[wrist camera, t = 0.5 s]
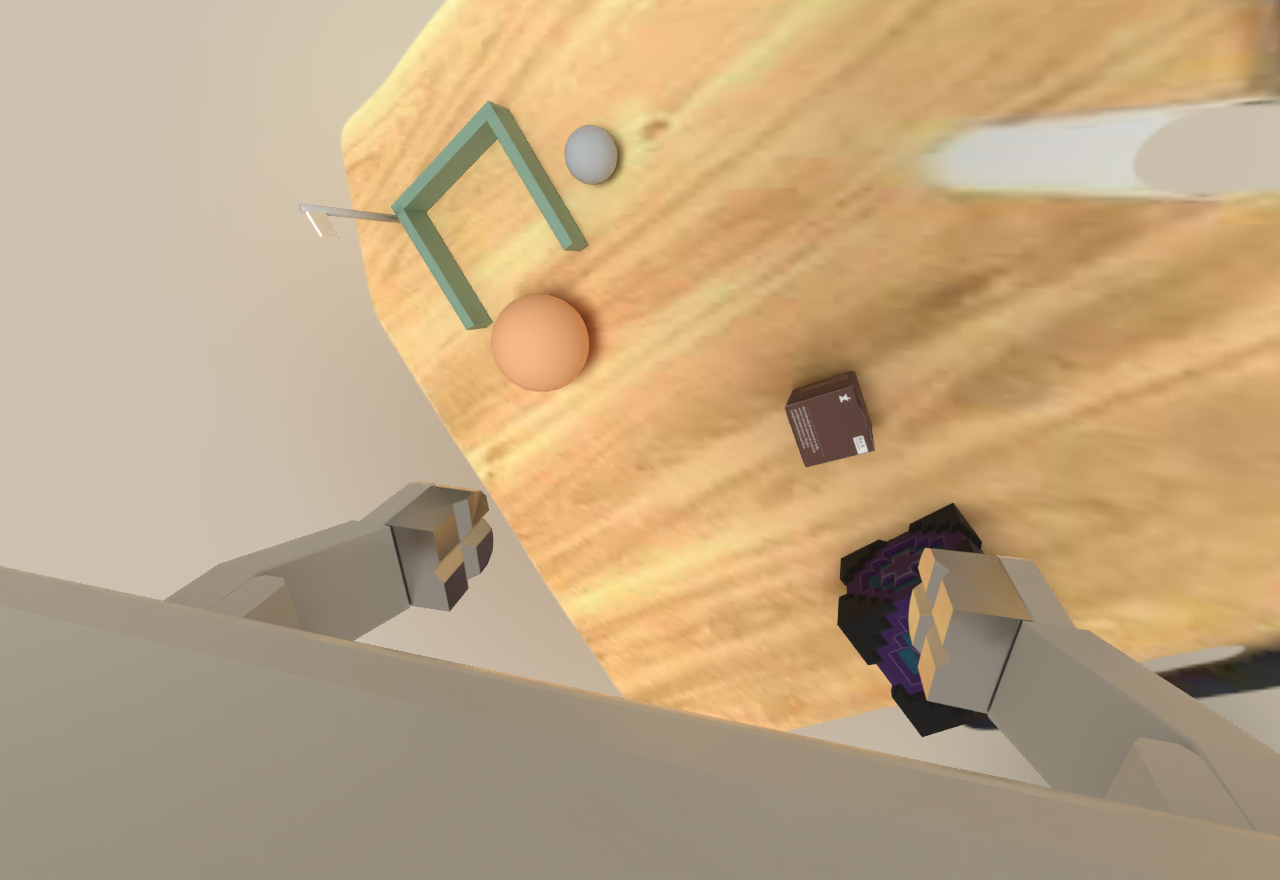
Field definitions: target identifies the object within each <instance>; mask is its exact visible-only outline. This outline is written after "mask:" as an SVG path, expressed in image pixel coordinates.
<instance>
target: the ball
mask: <svg viewBox="0 0 1280 880" xmlns="http://www.w3.org/2000/svg"><path fill="white" fill-rule="evenodd" d="M491 346H492V353H493V356H494V359H495V361H496V364H497V365H498V367H499V369H500V370H501V372H502V373H503V374H504V375H505V376H506V377H507V378H508V379H509V380H510V381H511V382H513V383H514V384H516V385H518V386H520V387H522V388H524V389H527V390H531V391H537V392H547V391H553V390H557V389H559V388H562V387H564V386H565V385H567V384H569V383H570V382H571V381H573V380H574V379H575V378H576V377H577V376H578V375H579V373H580V372H581V370H582V369H583V367H584V365H585V363H586V360H587V357H588V353H589V337H588V332H587V328H586V326H585V323H584V322H583V320H582V318H581V316H580V315H579V313H578V312H577V311H576V310H575V309H574V308H573V307H572V306H571V305H569V304H568V303H567V302H565V301H564V300H562V299H560V298H557V297H554V296H551V295H546V294H531V295H526V296H523V297H520V298H518V299H516V300H514V301H513V302H511V303H510V304H509V305H508V306H506V307H505V308H504V309H503V310H502V312H501V313H500V314H499V316H498V318H497V320H496V321H495V324H494V327H493V330H492V337H491Z"/></svg>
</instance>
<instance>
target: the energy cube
mask: <svg viewBox="0 0 1280 880" xmlns="http://www.w3.org/2000/svg"><path fill="white" fill-rule="evenodd" d="M981 544H982V542H981V540H980V538H979V537H978V535H977V534H976V533H975V531H974V530H973V529H972V527H971V526H970V525H969V523H968V522H967V521H966V519H965V518H964V517H963V515H962V514H961V513H960V511H959V510H958V509H957V507H956V506H955V505H954V503H952V504H950V505H948V506H946V507H944V508H942V509H940V510H938V511H936V512H934V513H932V514H930V515H927V516H925V517H923V518H921V519H919V520H917V521H915V522H913V523H911V524H910V527H909V532H908V533H906V534H904V535H902V536H900V537H898V538H896V539H894V540H892V541H889V542H887V543H885V542H883V541H881V540H877V541H875V542H873V543H871V544H869V545H867V546H865V547H863V548H861V549H859V550H857V551H855V552H853V553H851V554H849V555H847V556H845V557H843V558H841V568H840V580H841V581H842V582H843V584H844V585H845V586H847V594H845V595H843V596H841V597H839V605H838V623H837V625H838V626H839V627H840V629H841V630H842V631H843V633H844V634H845V635H846V637H847V638H848V639H849V641H850V642H851V643H852V645H853V646H854V647H855V649H856V650H857V651H858V653H859V654H860V655H861V657H862V658H863V659H864V661H865V662H866V663H867V665H873V664H877V666H878V667H879V668H880V670H881V671H882V672H883V674H884V675H885V676H886V678H887V679H888V680H889V682H890V683H891V684H892V689H891V694H892V698H893V699H894V700H895V702H896V703H897V704H898V706H899V707H900V708H901V709H902V711H903V712H904V714H905V715H906V716H907V718H908V719H909V720H910V722H911V723H912V724H913V725H914V727H915V728H916V729H917V731H918V732H919V734H920V735H921V736H922V737H924V736H928V735H931V734H934V733H937V732H941V731H944V730H947V729H950V728H953V727H957V726H960V725H963V724H967V723H970V722H973V713H974V711H973V710H969V709H964V708H959V707H954V706H950V705H945V704H940V703H936V702H931V701H927V700H926V696H925V692H924V688H923V685H922V681H921V677H920V673H919V669H918V664H919V660H920V656H921V653H920V652H919V651H918V650H917V649H916V648H915V647H914V646H913V645H912V641H911V637H910V631H909V622H908V621H909V605H910V600H911V595H912V591H913V589H914V588H915V587H917V586H918V585H919V584H921V583H922V579H921V576H920V573H919V569H918V566H919V563H920V559H921V555H922V553H923V551H924V549H925V548H931V549H940V550H950V551H959V552H968V553H978V554H984V553H983V552H982V551H981Z"/></svg>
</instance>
